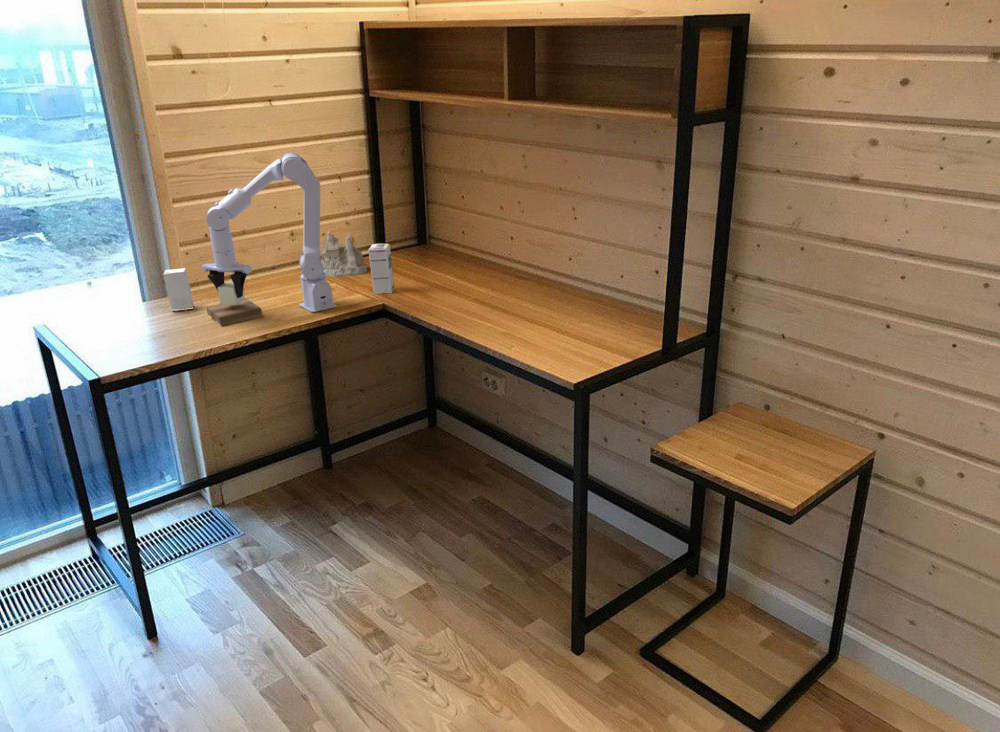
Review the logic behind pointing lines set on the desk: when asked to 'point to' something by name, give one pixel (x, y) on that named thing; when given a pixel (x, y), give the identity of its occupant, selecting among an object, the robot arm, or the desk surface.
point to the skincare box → (178, 288)
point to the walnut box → (234, 312)
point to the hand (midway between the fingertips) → (231, 296)
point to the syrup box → (381, 268)
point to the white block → (229, 294)
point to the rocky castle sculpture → (341, 258)
